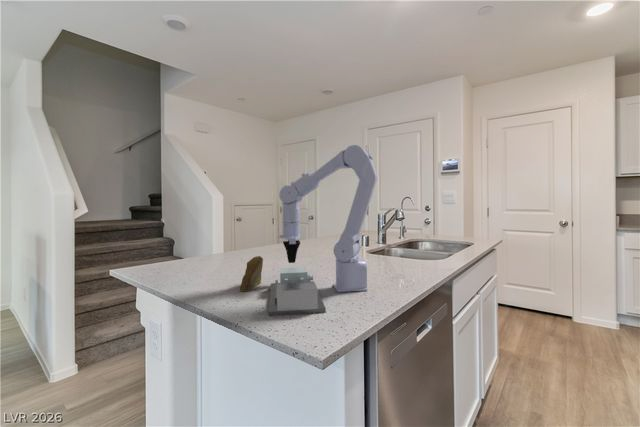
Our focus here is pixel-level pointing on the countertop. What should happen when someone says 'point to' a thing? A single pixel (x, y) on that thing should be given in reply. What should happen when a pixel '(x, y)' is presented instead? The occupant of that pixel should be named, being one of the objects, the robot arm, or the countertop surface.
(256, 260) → the rock
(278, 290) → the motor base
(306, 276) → the pale blue-grey box
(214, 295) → the countertop surface
